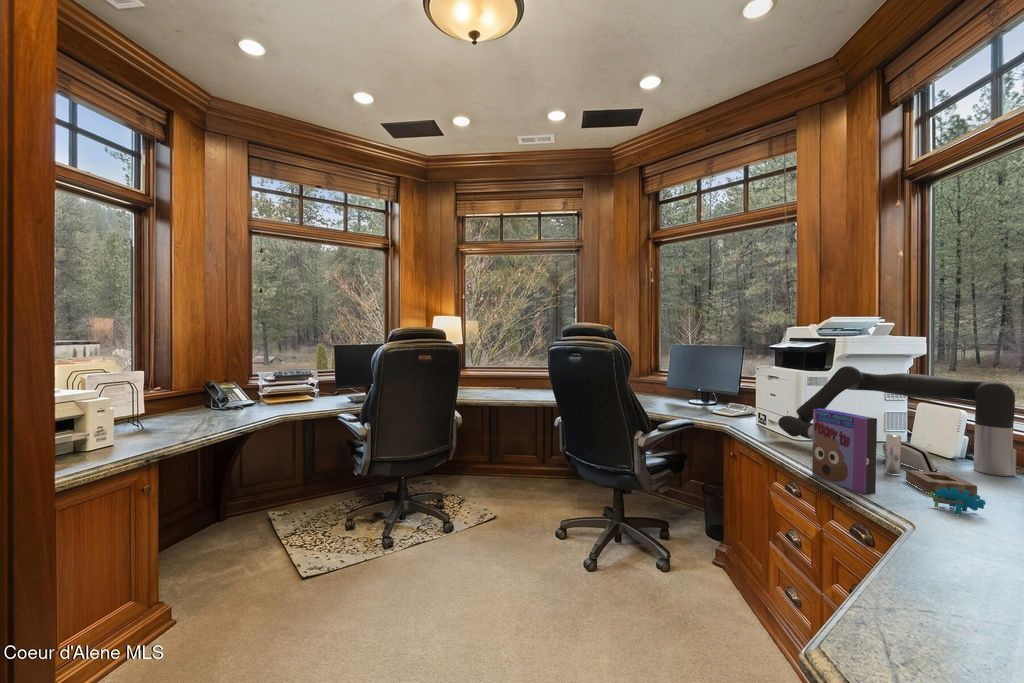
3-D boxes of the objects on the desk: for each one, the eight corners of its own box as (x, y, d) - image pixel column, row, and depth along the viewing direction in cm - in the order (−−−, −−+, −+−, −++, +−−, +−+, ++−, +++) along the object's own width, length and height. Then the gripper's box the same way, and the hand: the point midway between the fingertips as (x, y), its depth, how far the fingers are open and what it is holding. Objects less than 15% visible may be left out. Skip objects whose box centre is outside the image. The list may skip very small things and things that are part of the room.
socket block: (950, 485, 140) (950, 473, 140) (977, 498, 129) (977, 486, 129) (905, 481, 144) (905, 469, 144) (927, 494, 133) (928, 481, 133)
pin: (896, 472, 153) (897, 434, 153) (902, 476, 149) (903, 437, 149) (883, 471, 154) (883, 433, 154) (888, 475, 150) (889, 436, 150)
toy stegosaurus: (990, 509, 117) (979, 488, 114) (989, 528, 115) (978, 507, 112) (936, 501, 127) (924, 481, 124) (934, 519, 124) (922, 499, 121)
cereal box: (812, 476, 149) (813, 408, 149) (822, 475, 150) (824, 408, 150) (863, 494, 132) (865, 418, 132) (875, 493, 133) (877, 417, 133)
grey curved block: (940, 472, 153) (932, 447, 153) (928, 477, 153) (920, 451, 153) (896, 458, 170) (888, 435, 170) (885, 463, 170) (878, 439, 170)
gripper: (810, 426, 176) (848, 435, 160) (838, 424, 179) (878, 433, 163) (810, 444, 176) (848, 455, 160) (837, 442, 179) (878, 453, 163)
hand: (863, 444), depth 162 cm, fingers open, 8 cm apart
